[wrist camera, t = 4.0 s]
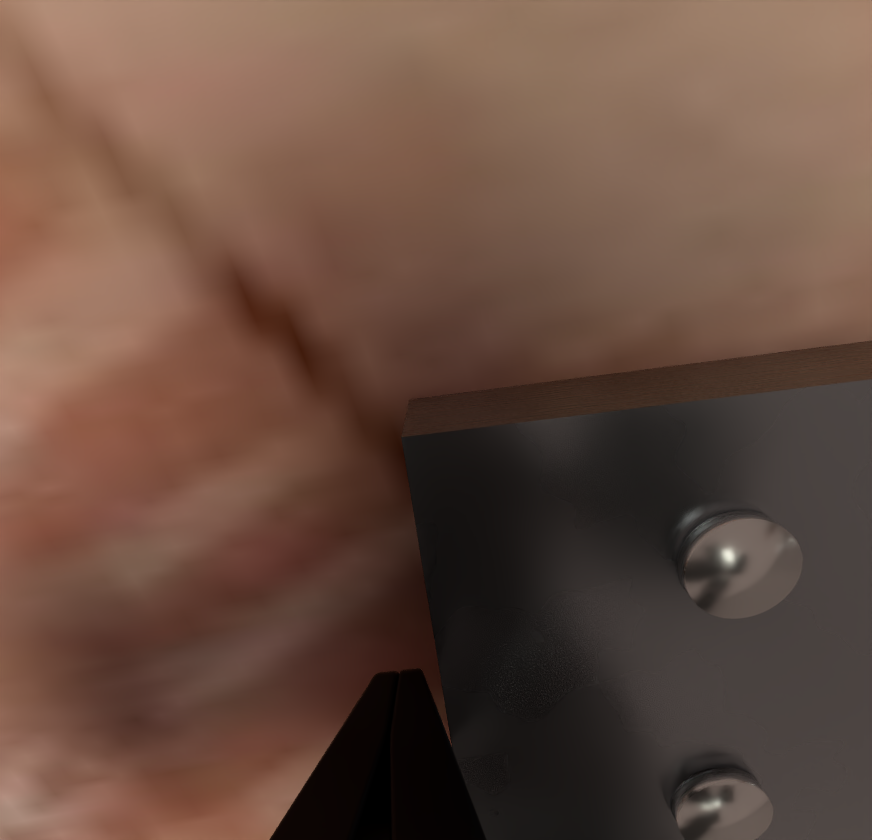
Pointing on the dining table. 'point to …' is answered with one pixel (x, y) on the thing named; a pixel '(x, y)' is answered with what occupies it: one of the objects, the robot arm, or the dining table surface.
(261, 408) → the dining table surface
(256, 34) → the dining table surface
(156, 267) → the dining table surface
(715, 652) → the two-screw grey plate
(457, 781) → the robot arm
